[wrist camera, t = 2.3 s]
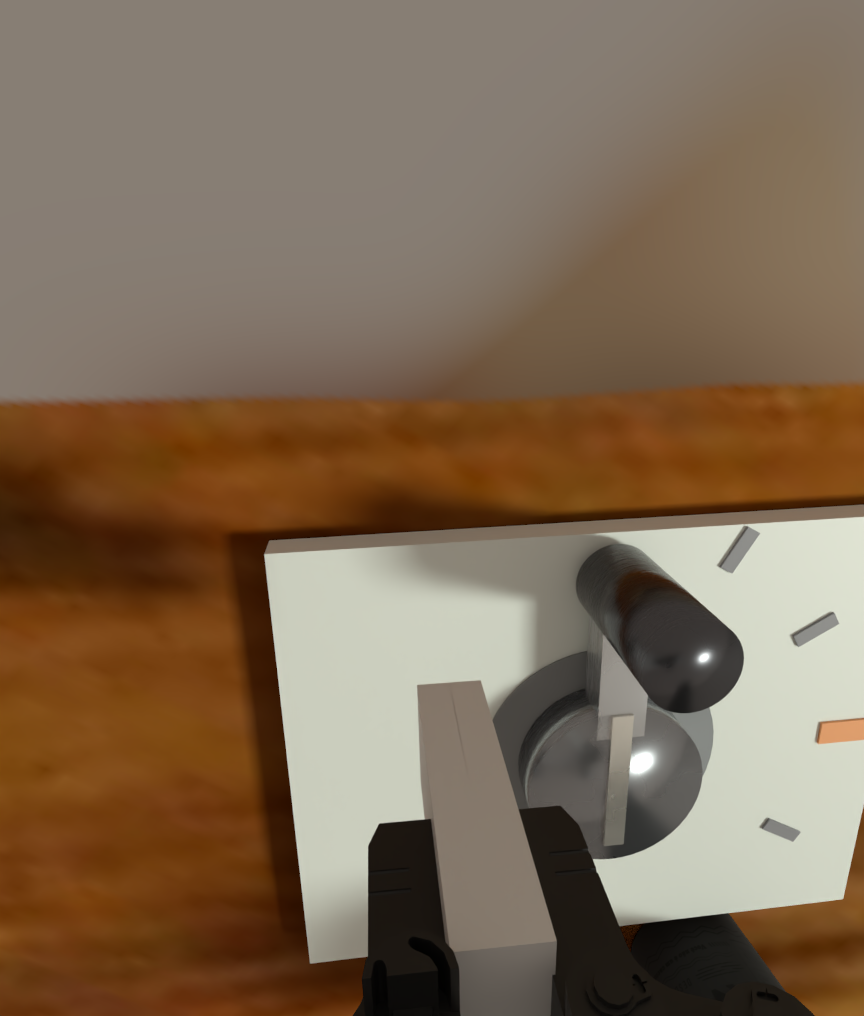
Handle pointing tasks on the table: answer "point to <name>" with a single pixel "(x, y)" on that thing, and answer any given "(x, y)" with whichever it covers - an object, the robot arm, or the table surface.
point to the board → (561, 671)
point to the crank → (631, 707)
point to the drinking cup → (700, 955)
